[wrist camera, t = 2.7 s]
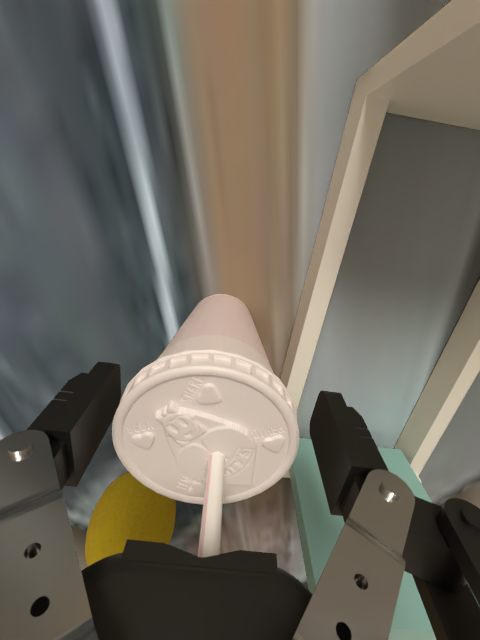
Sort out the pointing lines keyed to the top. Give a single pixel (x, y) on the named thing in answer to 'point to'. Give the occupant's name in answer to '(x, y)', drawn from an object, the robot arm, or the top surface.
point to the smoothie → (208, 417)
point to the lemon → (128, 518)
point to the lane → (347, 185)
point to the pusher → (324, 529)
